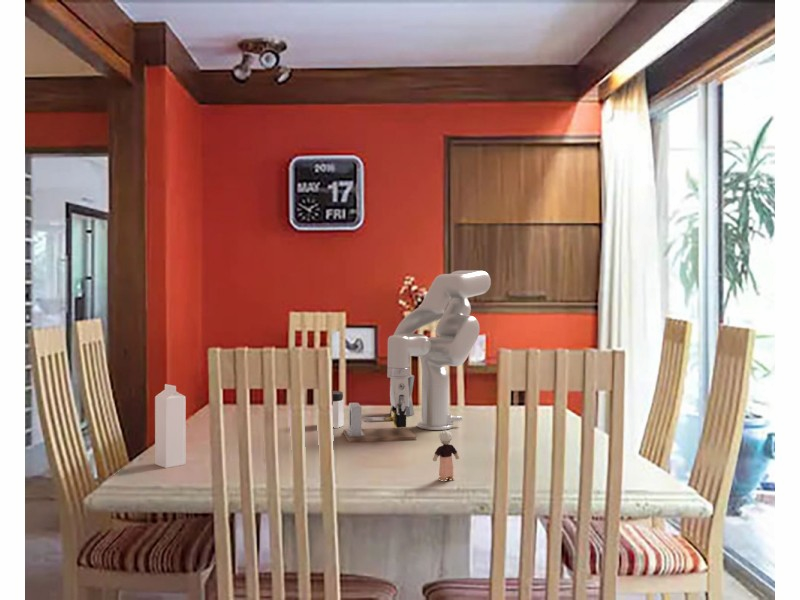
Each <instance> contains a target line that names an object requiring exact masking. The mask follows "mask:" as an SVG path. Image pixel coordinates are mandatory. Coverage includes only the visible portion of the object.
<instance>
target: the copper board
mask: <svg viewBox="0 0 800 600" xmlns="http://www.w3.org/2000/svg"><path fill="white" fill-rule="evenodd" d="M342 430H343V431H342V432H343V434H344V437H345V438H346V440H347V441H348V443H360V442H364V441H366V442H389V441H390V442H391V441H393V440H395V441H413V440H412V439H416V440H417V436H416V435H415V434H414V433H413V432H412V431H411V430H410V428H408V427H402V428H394V427H386V428H385V427H384V428H383V427H382V428H361V430H362V432H363V433H364V435H365V437H349V436H348V434H347V433H346V429H342ZM393 442H394V441H393Z"/></svg>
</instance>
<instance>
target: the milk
mask: <svg viewBox="0 0 800 600" xmlns="http://www.w3.org/2000/svg"><path fill="white" fill-rule="evenodd" d="M186 406H187V405H186V396H185V395H184V394H182V393H180V392H178V391H177V386H176V385H172V384H167V383H165V384H164V389H163V390H162V391H161V392H160V393H158V394H156V396H155V397H154V431H155V433H154V459H155V460H154V465H156V466H159V467H162V468H165V469H169V468H174V467H178V466H179V467H180V466H185V465H186V452H187V451H186V448H187V447H186V442H187V441H186V439H187V438H186V428H187V427H186V420H187V419H186V418H187V417H186V413H187V412H186Z"/></svg>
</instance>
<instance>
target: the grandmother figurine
mask: <svg viewBox="0 0 800 600" xmlns="http://www.w3.org/2000/svg"><path fill="white" fill-rule="evenodd" d="M438 436H439V441H440V443H441V445H440V446H438V447H437V448H436V450H435V452H434V455H433V457H432V461H433V462H436V461H438V458H439V469H438V476H439V477H438V479H440V480H443V481H445V480H448V479H454V480H455V477H454V462H453V456H454V458H455V459H456V460H459V459H460V456H459V454H458V451H457V449H456V448H455V446H454V445H453V444H450V443H451V441H452V440H453V436H452V433H451V432H450V431H449V430H443V431H441V432H440V433H439V435H438ZM452 455H453V456H452ZM446 478H448V479H446Z"/></svg>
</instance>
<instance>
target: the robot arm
mask: <svg viewBox="0 0 800 600" xmlns="http://www.w3.org/2000/svg"><path fill="white" fill-rule="evenodd" d="M491 281H492V280H491V277H490V274H489V273H488V272H486V271H484V270H473V269H472V270H455V271H452V272H451V273H442V274H439V275H437V276H436V277H435V278H433V281H432V283H431V285H430V287H429V288H428V290H427V293H426V295H425V296H424V298H423V300H422V302H421V304H420V305H419V306H418V307H417V308H415V309H413V310H412V311H411V312H410V313H409V314H407V316H404V317H403V319H402V320H401V321H400V322H399V323H398V326H397V327H396V328H395V331H394V333H393V335H389V337H388V338H387V373H386V375H387V378H390V381H389V397H390V398H389V401H390V402H389V403H390V411H397V415H396V427H397V428H399V427H402V428H407V416H406V409H405V407H406V408H408V407H409V385H408V378H409V377H410V375H411V357H420V358H419V359H420V365H421V421H418V422H417V424H416V427H417V428H419V429H422V430H427V431H428V430H429V431H442V430H443V431H447V430H450V429H453V427H454V424H453V423H454V422H456V423H457V422H459V423H461V422H462V421H463V416H462V415H452V414H451V413H450V376H449V371H448V370H447V367H446V366H449V367H460V366H461V365H463V364H464V363H465V361H467V359H468V357H469V355H470V353H471V351H472V350H473V348H474V346H475V344H476V342H477V340H478V339H479V335H480V323H479V320H478V319H477V318H476V317H475V316H472V315H471V311H472V307H471V303H470V301H469V299H468V298H472V297H476V296H480V295H481V296H482V295H484V294H486V293H487V292H488V291H489V289H490V288H491V284H492V282H491ZM437 321H438V322H437ZM434 322H437V324H436V327H435V335H437V336H432V337H428V336H427V335H424V334H419V333H415V332H416V331H417V330H420V329H421V328H422V327H424V326H428V325H431V324H432V323H434ZM391 405H392V406H391Z"/></svg>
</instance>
